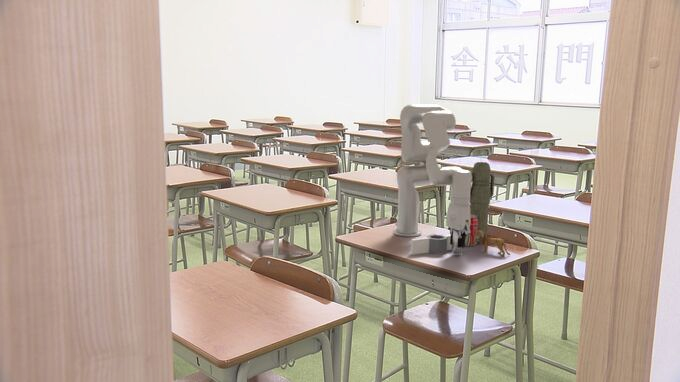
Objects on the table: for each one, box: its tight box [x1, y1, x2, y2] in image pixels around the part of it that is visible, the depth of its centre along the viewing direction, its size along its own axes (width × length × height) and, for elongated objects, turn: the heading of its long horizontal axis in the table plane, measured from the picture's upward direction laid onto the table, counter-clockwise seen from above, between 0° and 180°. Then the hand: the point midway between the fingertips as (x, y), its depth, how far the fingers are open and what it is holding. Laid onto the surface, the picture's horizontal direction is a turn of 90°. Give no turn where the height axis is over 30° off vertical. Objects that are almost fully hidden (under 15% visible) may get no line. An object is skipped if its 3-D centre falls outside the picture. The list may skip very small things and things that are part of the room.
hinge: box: [410, 233, 452, 256], centre depth 234 cm, size 8×24×6 cm, turn 116°
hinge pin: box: [451, 229, 463, 256], centre depth 228 cm, size 4×4×10 cm
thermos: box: [469, 161, 496, 245], centre depth 249 cm, size 9×12×35 cm
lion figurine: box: [475, 230, 511, 257], centre depth 232 cm, size 15×5×9 cm, turn 61°
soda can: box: [465, 214, 478, 248], centre depth 244 cm, size 7×7×13 cm
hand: (457, 245), depth 228 cm, fingers closed on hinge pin, 4 cm apart
